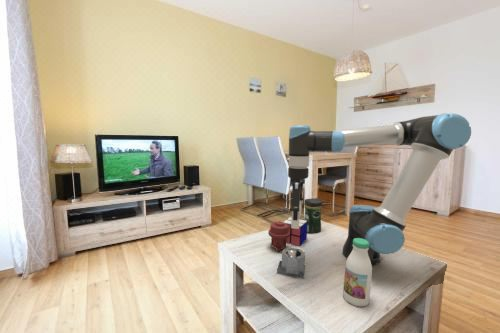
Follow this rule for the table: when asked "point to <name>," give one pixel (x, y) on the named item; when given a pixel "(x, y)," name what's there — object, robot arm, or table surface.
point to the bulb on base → (280, 271)
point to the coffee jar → (313, 214)
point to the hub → (293, 261)
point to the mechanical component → (279, 234)
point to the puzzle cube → (297, 232)
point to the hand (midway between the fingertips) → (296, 221)
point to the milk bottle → (358, 274)
